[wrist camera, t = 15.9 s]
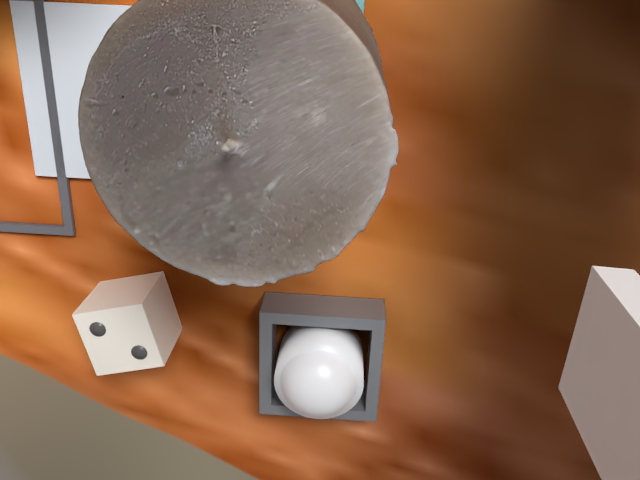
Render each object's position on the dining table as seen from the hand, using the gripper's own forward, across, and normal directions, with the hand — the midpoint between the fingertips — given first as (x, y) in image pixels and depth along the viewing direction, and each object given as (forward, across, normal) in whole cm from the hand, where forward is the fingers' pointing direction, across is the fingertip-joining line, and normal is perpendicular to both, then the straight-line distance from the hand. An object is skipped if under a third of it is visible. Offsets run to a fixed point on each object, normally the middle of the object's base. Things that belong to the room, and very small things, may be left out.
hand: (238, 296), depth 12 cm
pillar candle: (+21, -2, +1) cm, 21 cm away
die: (+21, -10, -13) cm, 27 cm away
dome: (+21, +1, -15) cm, 26 cm away
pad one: (+21, -11, -1) cm, 24 cm away
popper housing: (+21, +1, -15) cm, 26 cm away
